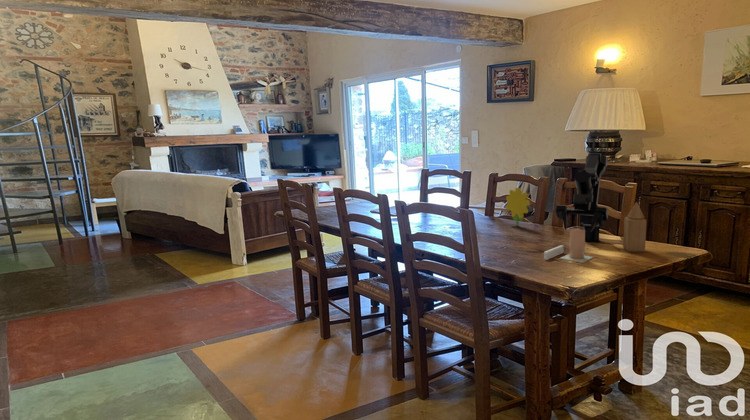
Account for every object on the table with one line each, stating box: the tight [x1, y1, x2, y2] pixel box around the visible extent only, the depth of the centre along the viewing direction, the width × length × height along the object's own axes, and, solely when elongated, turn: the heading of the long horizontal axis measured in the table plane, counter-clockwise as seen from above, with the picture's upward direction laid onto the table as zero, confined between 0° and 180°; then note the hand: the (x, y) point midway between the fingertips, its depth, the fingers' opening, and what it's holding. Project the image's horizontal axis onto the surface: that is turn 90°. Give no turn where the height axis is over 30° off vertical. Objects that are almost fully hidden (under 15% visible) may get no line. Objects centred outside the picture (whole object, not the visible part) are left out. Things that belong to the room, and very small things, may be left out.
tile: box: [559, 253, 594, 264], centre depth 189 cm, size 9×9×1 cm
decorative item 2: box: [622, 201, 647, 253], centre depth 196 cm, size 7×7×20 cm
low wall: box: [543, 244, 565, 261], centre depth 193 cm, size 14×1×3 cm, turn 133°
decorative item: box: [505, 187, 531, 227], centre depth 252 cm, size 16×1×20 cm, turn 30°
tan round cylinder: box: [568, 227, 586, 259], centre depth 188 cm, size 6×6×11 cm
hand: (577, 230), depth 188 cm, fingers open, 9 cm apart
